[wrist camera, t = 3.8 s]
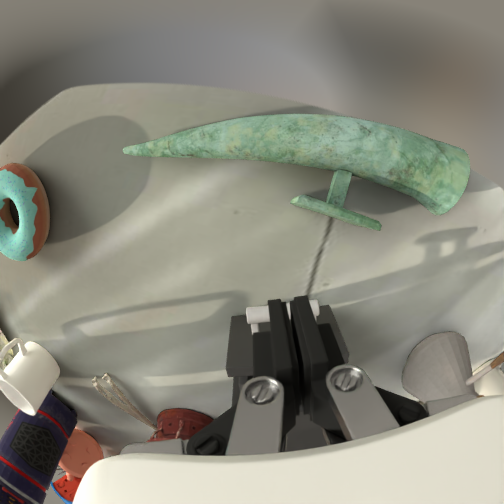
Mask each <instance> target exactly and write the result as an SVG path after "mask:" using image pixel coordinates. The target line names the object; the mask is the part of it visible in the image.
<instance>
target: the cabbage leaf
mask: <svg viewBox="0 0 504 504" xmlns="http://www.w3.org/2000/svg"><path fill="white" fill-rule="evenodd" d="M8 343H9V342H8V341H7V339H6V337H5V336H4V334H3V333H2V331H1V330H0V352H1V350H2V349H3V347H4V346H5V345H7V344H8ZM10 354H11V355H13V351H12V349H9V350H8V351H7V353H6V354H5V356H4V358H3V360H2V361H1V363H0V368H1V369H2V370H3V371H4V369H5V367H4V366H5V364H6V365H9V364H10V362H11V361H12V360H13V358H12V357H11V355H10ZM13 356H14V355H13Z"/></svg>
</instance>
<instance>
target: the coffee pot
mask: <svg viewBox="0 0 504 504" xmlns="http://www.w3.org/2000/svg"><path fill="white" fill-rule="evenodd" d="M503 362H504V352H503V353H501V354H500V355H499V356H498V357H497V358H496V359H495V360H494V361H492V362H491V363H490V364H489V365H488V366H487V367H485V368H484V369H482V370H481V371H479V372H478V373H476V374H475V375H473V374H472V368H471V362H470V357H469V352H468V347H467V343H466V340H465V338H464V337H463V336H462V335H460V334H459V333H456V332H450V331H449V332H443V333H437V334H433V335H431V336H429V337H427V338H425V339H424V340H422V341H421V342H420V343H419V344H418V345H417V346H416V347H415V348H414V349H413V350H412V352H411V353H410V355H409V357H408V359H407V362H406V364H405V366H404V369H403V372H402V385H403V388H404V389H405V390H406V391H407V392H408V393H410V394H411V395H413V396H414V397H416V398H417V399H419V400H420V401H422V402H424V403H425V402H426V401H431V400H437V399H443V398H449V397H454V396H459V395H464V394H472V395H475V396H476V397H477V398H480V397H484V395H479V394H478V393H477V392H475V388H474V382H476V381H477V380H478V379H480V378H481V377H483V376H484V375H485V374H487V373H488V372H489V371H491V370H492V369H494V368H495V367H497V366H498V365H500V364H501V363H503Z"/></svg>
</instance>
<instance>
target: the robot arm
mask: <svg viewBox="0 0 504 504" xmlns="http://www.w3.org/2000/svg"><path fill="white" fill-rule="evenodd" d="M268 308H269V318H270V328H271V331H263V332H253V379H251V380H249V381H247V382H246V383H245V384H244V385H243V386H242V389H241V391H240V395H239V400H238V403H236V404H235V405H234V406H232V407H231V408H230V409H229V410H227V411H226V412H225V413H223V414H222V415H221V416H219V417H218V418H217V419H215V420H214V421H213V422H211V423H210V424H208V425H207V426H206V427H204V428H203V429H202V430H200V431H199V432H197V433H196V434H194V435H193V436H192V437H191V438H190V439H188V440H182V439H181V438H178V439H170V440H162V441H152V442H140V443H132V444H128V445H127V446H125V447H124V448H123V449H122V450H121V452H120V455H117V456H112V457H108V458H105V459H102V460H99V461H97V462H96V463H94V464H93V465H92V466H91V467H90V468H89V469H88V470H87V472H86V473H85V475H84V477H83V479H82V481H81V483H80V485H79V487H78V489H77V492H76V494H75V497H74V500H73V504H504V373H503V372H502V371H501V370H500V369H501V364H500V365H498V366H497V367H495V368H494V369H492V370H491V371H489V372H488V373H487V374H485V375H484V376H483V377H481V378H480V379H478V380H477V381H476V382H474V388H475V392H477V393H478V394H479V395H484V397H480V398H477V397H476V396H475V395H472V394H464V395H459V396H454V397H449V398H443V399H437V400H431V401H426V402H425V404H420V403H418V402H416V401H414V400H411V399H408V398H405V397H402V396H400V395H397V394H394V393H392V392H389V391H386V390H384V389H381V388H378V387H376V386H374V385H373V384H372V382H371V380H370V379H369V377H368V376H367V374H366V373H365V372H364V371H363V370H362V369H361V368H359V367H358V366H355V365H350V364H345V362H344V359H343V356H342V354H341V351H340V348H339V346H338V343H337V340H336V338H335V335H334V333H333V330H332V328H331V325H330V323H324V324H317V323H316V320H315V317H314V314H313V311H312V308H311V305H310V302H309V299H308V296H300V297H294V301H290V316H291V324H290V319H289V314H288V310H287V305H286V302H281V300H280V299H276V300H268ZM494 360H495V359H493V360H490V361H488V362H486V363H485V364H483V365H482V366H481V367H479V368H478V369H477V370H476V371H475V372H474V373H473V375H475V374H476V373H478V372H479V371H481V370H482V369H484V368H485V367H487V366H488V365H489V364H490V363H491V362H492V361H494ZM299 391H300V397H301V403H302V408H303V414H304V415H307V414H309V419H310V421H313V423H315V424H317V425H319V426H321V431H322V434H323V436H324V438H325V441H326V443H327V446H323V447H318V448H312V449H305V450H298V451H290V452H286V448H287V433H288V432H289V431H290V430H291V429H292V428H293V427H294V426H295V425H296V416H299V415H300V406H299Z"/></svg>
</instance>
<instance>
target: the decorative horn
mask: <svg viewBox="0 0 504 504" xmlns="http://www.w3.org/2000/svg"><path fill="white" fill-rule="evenodd" d="M123 153H125V154H129V155H135V156H150V157H190V158H226V159H246V160H259V161H270V162H279V163H288V164H296V165H303V166H310V167H316V168H322V169H327V170H332V171H334V175H333V179H332V182H331V186H330V189H329V192H328V196H327V199H326V202H324V201H321V200H318V199H315V198H312V197H309V196H306V195H301V196H298V197H295V198H293V199H291V203H290V204H293V205H296V206H300V207H303V208H306V209H309V210H312V211H315V212H318V213H321V214H324V215H327V216H330V217H333V218H336V219H339V220H342V221H345V222H348V223H350V224H353V225H357V226H361V227H366V228H370V229H374V230H379V231H380V230H381V226H382V225H381V224H380V222H379V221H377V220H374V219H371V218H369V217H366V216H363V215H361V214H358V213H355V212H352V211H350V210H347V209H344V208H343V205H344V202H345V198H346V195H347V191H348V187H349V184H350V180H351V176H356V177H359V178H363V179H366V180H369V181H372V182H375V183H378V184H381V185H384V186H386V187H389V188H392V189H394V190H397V191H400V192H402V193H404V194H407V195H409V196H411V197H414V198H415V199H416V200H418V201H419V202H420V203H421V204H422V205H423V206H424V207H426V208H427V209H428V210H429V211H430V212H431V213H432V214H435V215H442V214H444V213H446V212H447V211H449V210H450V209H451V208H452V207H453V206H454V205H455V204H456V203H457V201H458V200H459V199H460V198H461V196H462V194H463V192H464V190H465V188H466V185H467V182H468V179H469V174H470V161H469V157H468V154H467V153H466V152H465V150H463V149H461V148H459V147H456V146H452V145H450V144H447V143H443V142H440V141H436V140H433V139H430V138H428V137H425V136H422V135H420V134H417V133H414V132H411V131H407V130H405V129H401V128H398V127H394V126H390V125H386V124H382V123H378V122H374V121H369V120H363V119H358V118H352V117H345V116H335V115H322V114H277V115H262V116H253V117H244V118H237V119H232V120H227V121H222V122H217V123H213V124H209V125H205V126H201V127H197V128H193V129H189V130H186V131H182V132H179V133H175V134H172V135H169V136H166V137H162V138H159V139H156V140H152V141H149V142H145V143H141V144H137V145H132V146H128V147H125V148H124V149H123Z"/></svg>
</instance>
